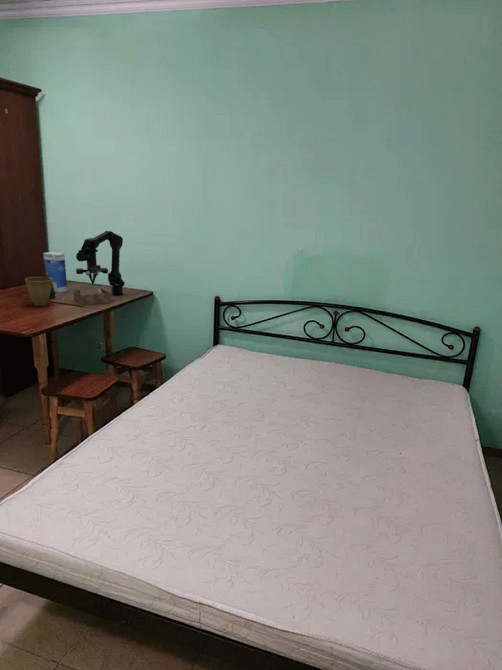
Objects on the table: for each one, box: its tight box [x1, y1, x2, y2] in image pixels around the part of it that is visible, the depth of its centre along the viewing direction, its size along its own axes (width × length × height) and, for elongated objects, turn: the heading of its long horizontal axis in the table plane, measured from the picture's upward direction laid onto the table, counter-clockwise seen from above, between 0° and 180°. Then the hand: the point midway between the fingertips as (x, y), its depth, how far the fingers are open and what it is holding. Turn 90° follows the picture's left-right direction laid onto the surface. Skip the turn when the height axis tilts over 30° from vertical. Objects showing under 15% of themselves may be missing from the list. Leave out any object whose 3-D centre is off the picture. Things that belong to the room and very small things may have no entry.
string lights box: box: [42, 251, 68, 293], centre depth 319 cm, size 13×8×26 cm, turn 58°
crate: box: [73, 287, 111, 306], centre depth 298 cm, size 18×16×6 cm
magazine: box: [43, 274, 57, 300], centre depth 300 cm, size 4×13×15 cm, turn 92°
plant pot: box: [24, 276, 52, 307], centre depth 282 cm, size 15×15×16 cm
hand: (92, 284), depth 295 cm, fingers closed
